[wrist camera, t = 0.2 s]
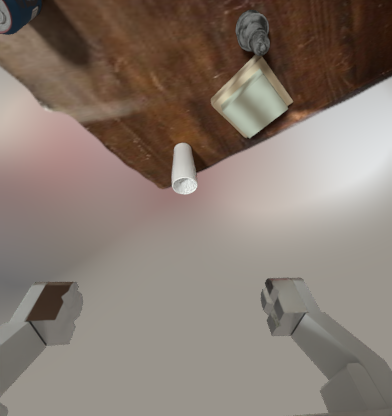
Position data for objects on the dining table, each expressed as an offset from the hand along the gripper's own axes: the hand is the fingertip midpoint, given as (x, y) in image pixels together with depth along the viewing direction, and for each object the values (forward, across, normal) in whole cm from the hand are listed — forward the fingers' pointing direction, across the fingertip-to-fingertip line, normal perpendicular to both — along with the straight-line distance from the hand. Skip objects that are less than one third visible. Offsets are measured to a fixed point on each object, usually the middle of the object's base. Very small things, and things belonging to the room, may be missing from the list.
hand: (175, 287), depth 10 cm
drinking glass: (+59, -2, +16) cm, 61 cm away
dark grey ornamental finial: (+50, -14, -13) cm, 54 cm away
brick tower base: (+54, -18, 0) cm, 57 cm away
